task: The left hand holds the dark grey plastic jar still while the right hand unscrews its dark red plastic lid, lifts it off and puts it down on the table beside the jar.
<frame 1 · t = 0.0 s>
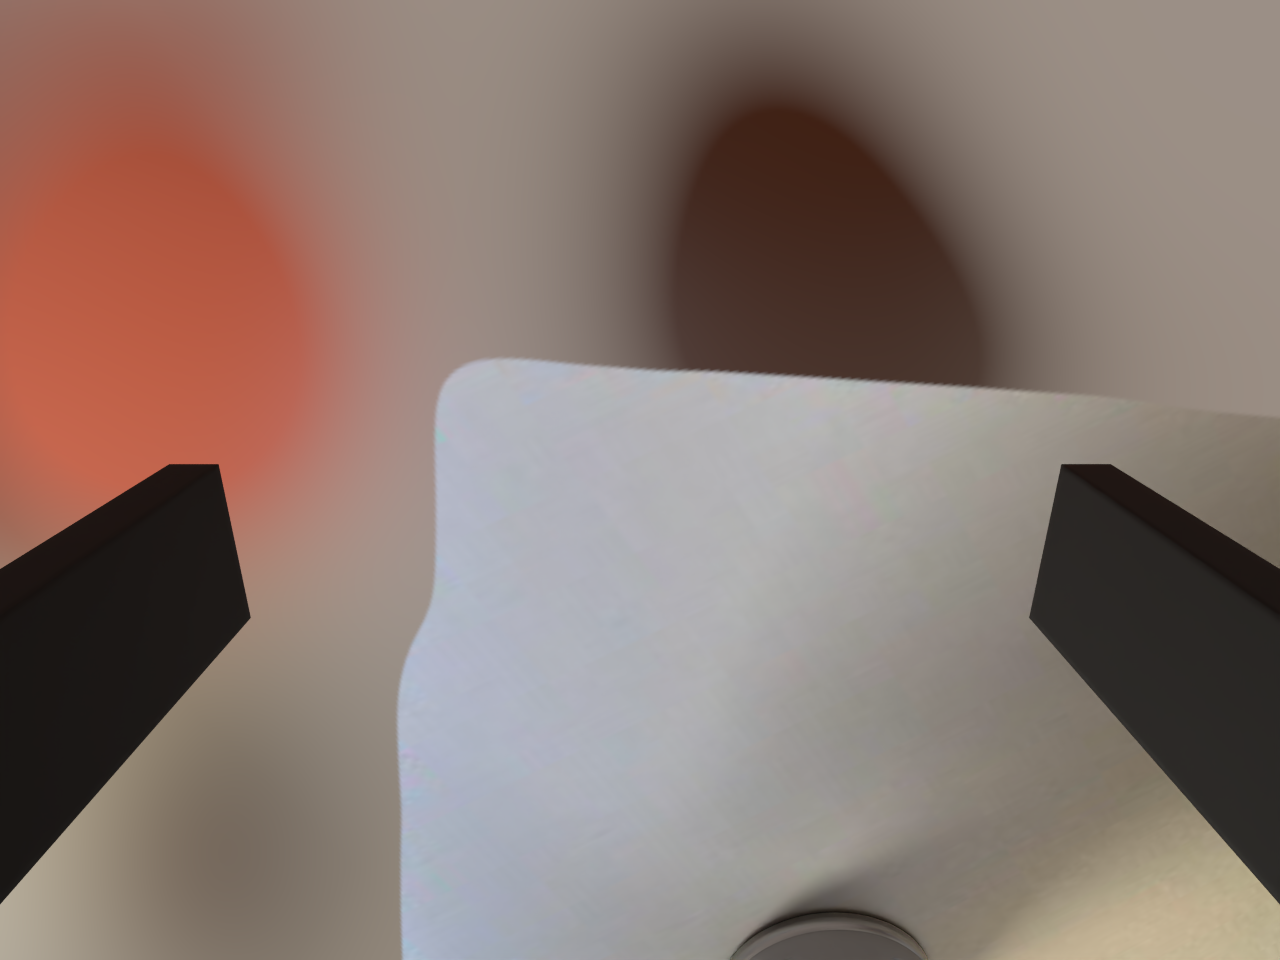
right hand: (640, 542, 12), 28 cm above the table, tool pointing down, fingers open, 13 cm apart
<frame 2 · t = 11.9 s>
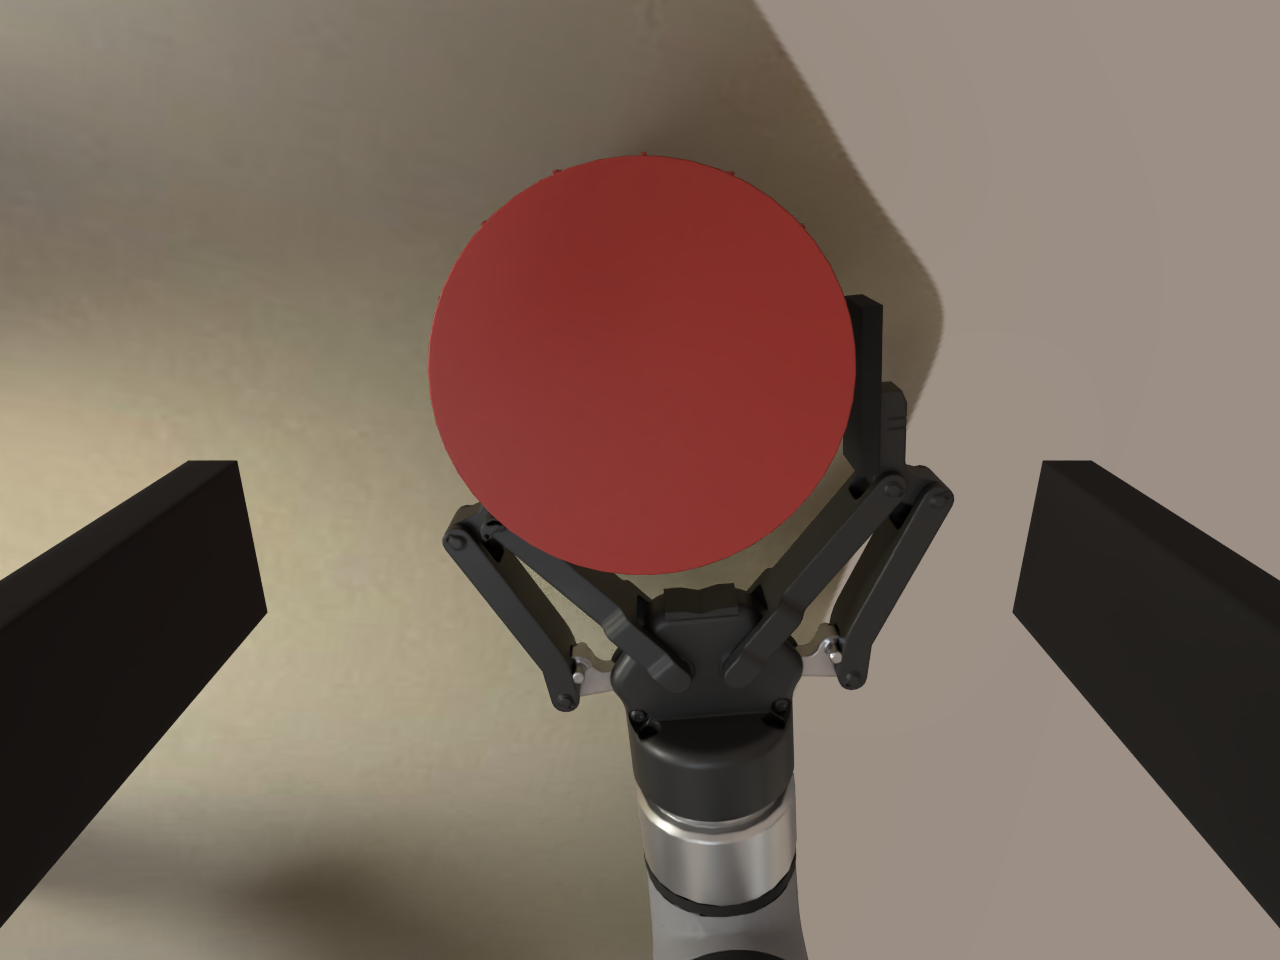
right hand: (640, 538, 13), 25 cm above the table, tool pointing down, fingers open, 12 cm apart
left hand: (678, 316, 29), fingers open, 13 cm apart
lid: (641, 382, 20), point 16 cm above the table, screwed on, not yet turned
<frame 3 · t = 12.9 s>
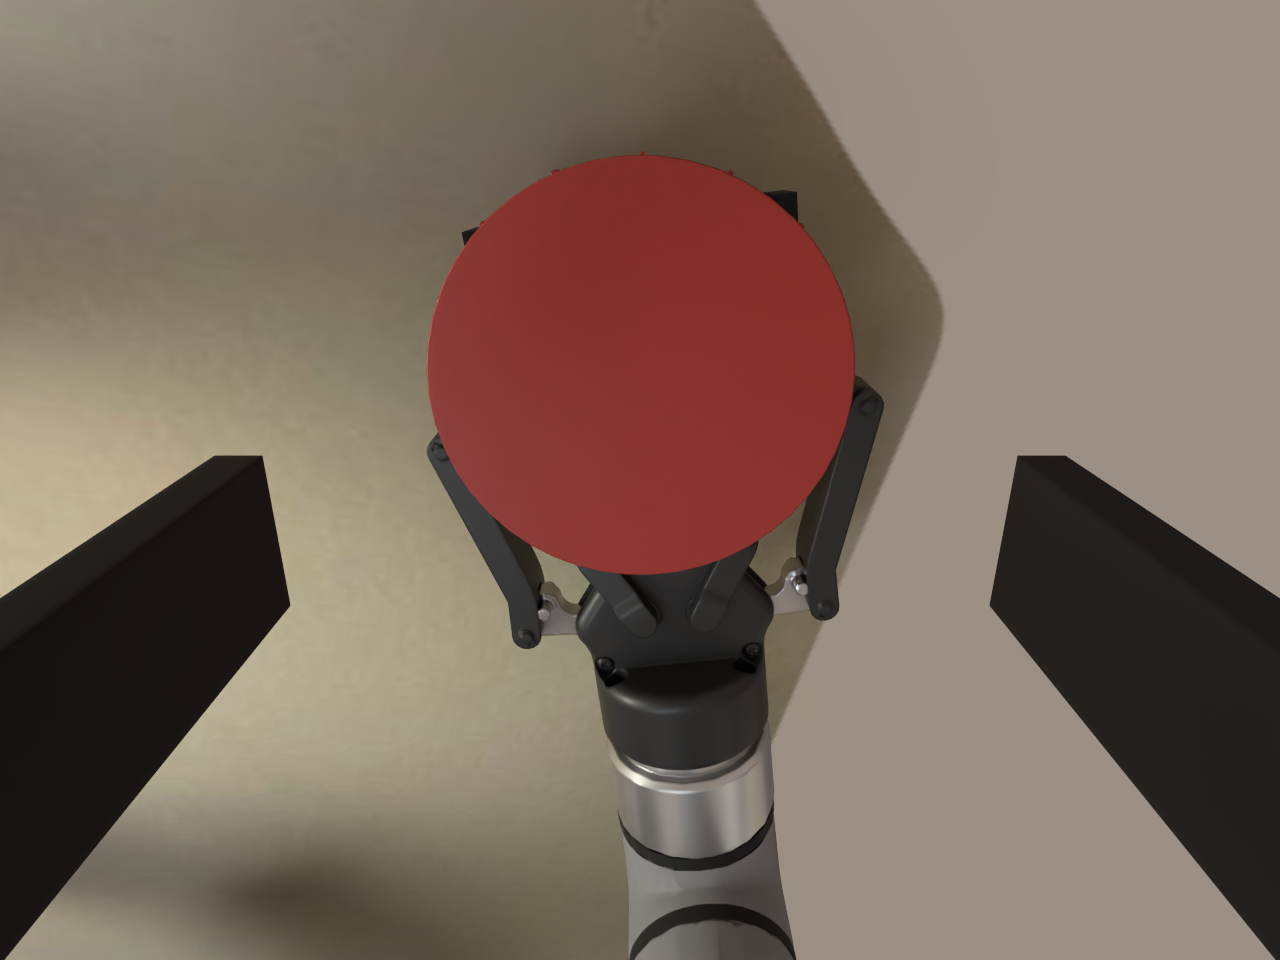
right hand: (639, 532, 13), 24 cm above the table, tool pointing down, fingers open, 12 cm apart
left hand: (628, 210, 28), fingers closed on jar, 10 cm apart
lid: (640, 382, 20), point 16 cm above the table, screwed on, not yet turned
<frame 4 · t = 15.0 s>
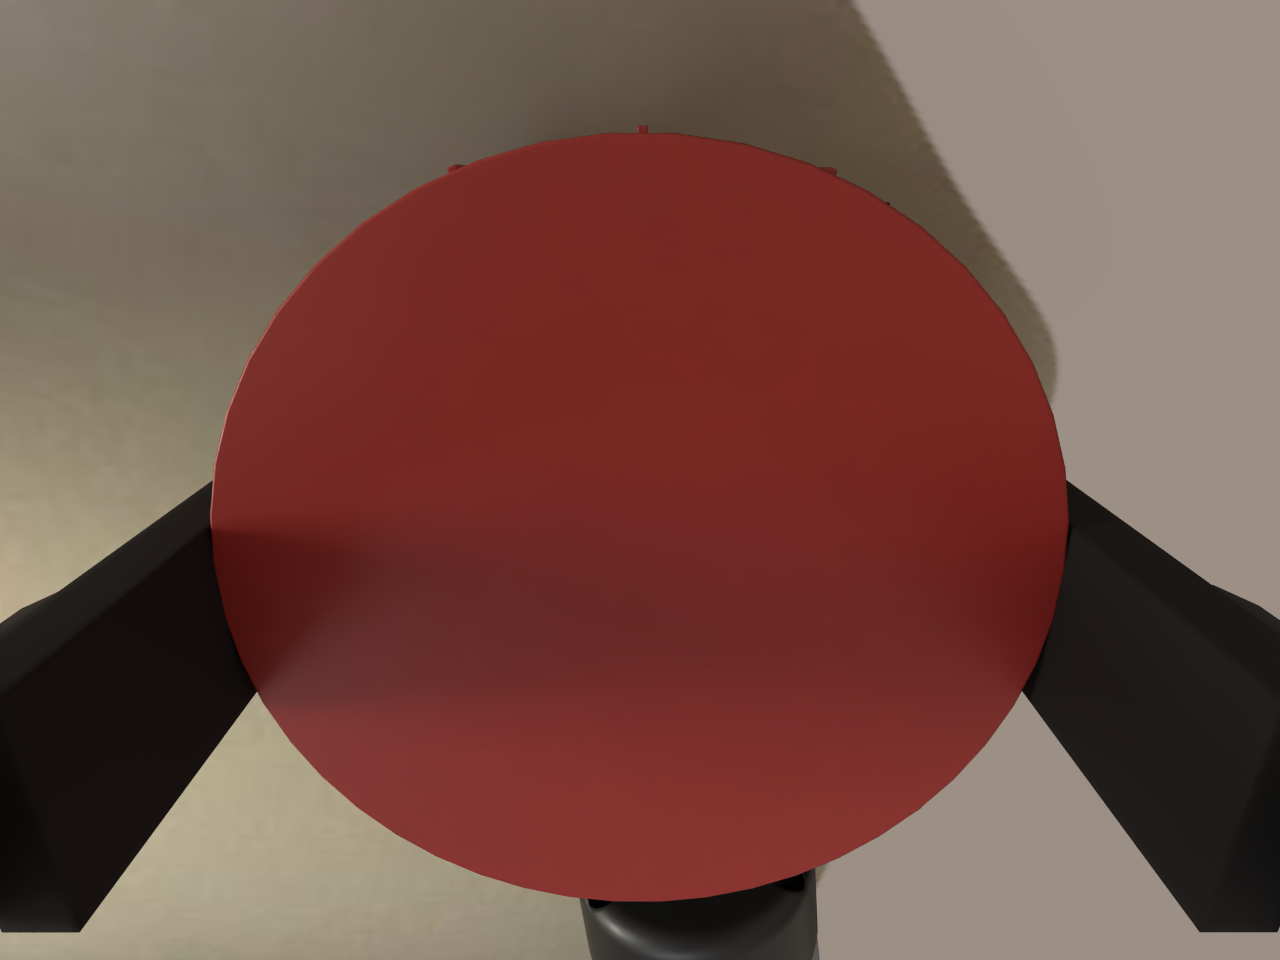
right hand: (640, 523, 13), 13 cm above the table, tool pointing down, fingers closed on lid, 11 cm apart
lid: (639, 580, 10), point 16 cm above the table, screwed on, not yet turned, touching right hand
when the right hand's fingers open (14 cm above the table, at t = 16.7 s): lid stays where it is, point 16 cm above the table.
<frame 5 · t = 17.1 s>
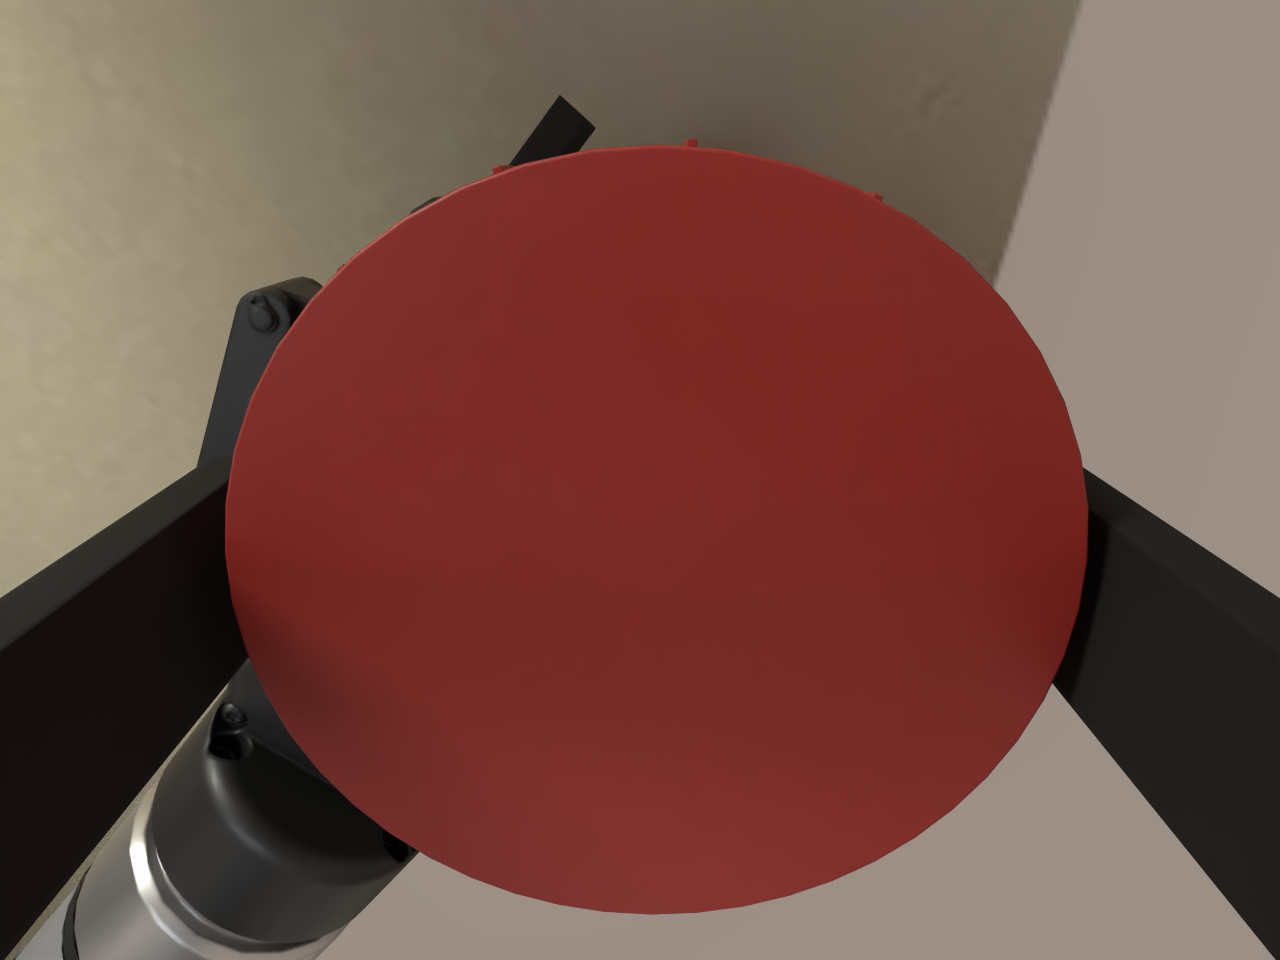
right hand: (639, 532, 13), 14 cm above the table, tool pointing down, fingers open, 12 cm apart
lid: (654, 593, 10), point 16 cm above the table, turned 88° so far, risen 0.2 cm, still on its thread
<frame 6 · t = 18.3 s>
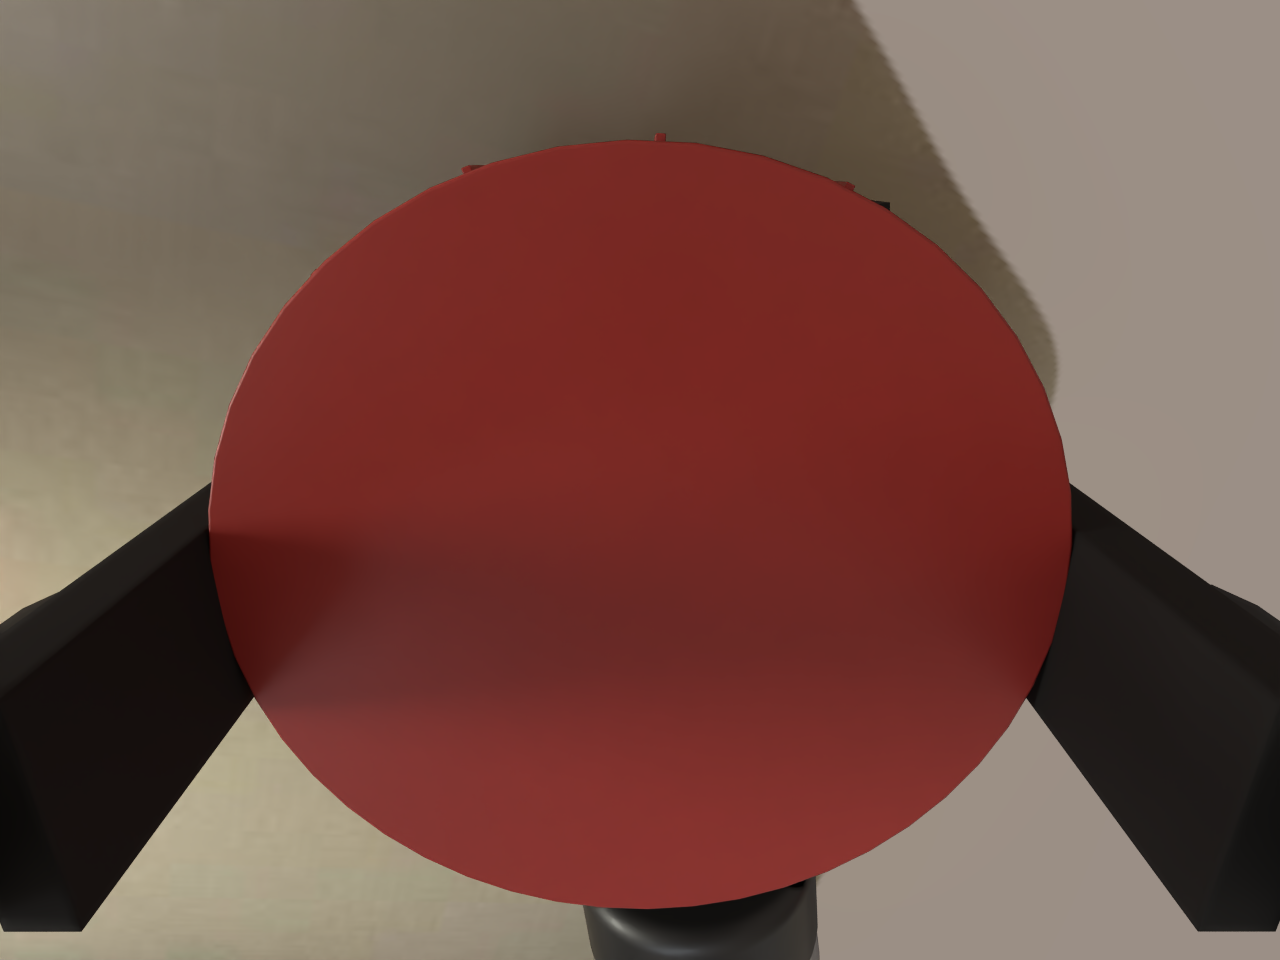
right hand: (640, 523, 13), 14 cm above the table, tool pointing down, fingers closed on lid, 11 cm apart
lid: (639, 589, 10), point 16 cm above the table, turned 88° so far, risen 0.2 cm, still on its thread, touching right hand
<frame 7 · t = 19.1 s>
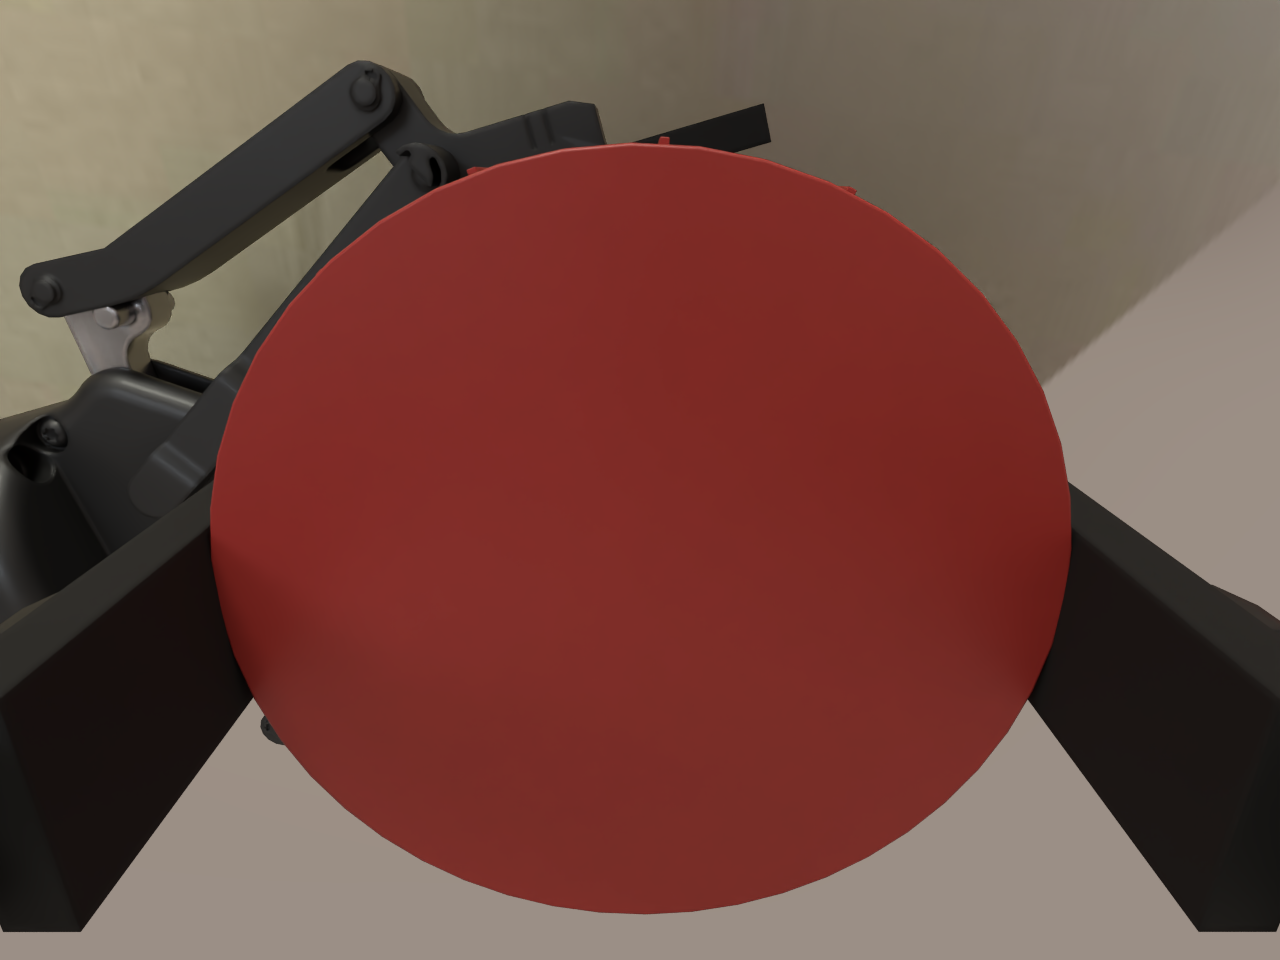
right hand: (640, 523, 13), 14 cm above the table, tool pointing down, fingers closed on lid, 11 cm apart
left hand: (803, 355, 19), fingers closed on jar, 10 cm apart
lid: (639, 590, 10), point 17 cm above the table, off its thread, touching right hand
when the right hand's fingers open (0 cm above the table, at t = 26.1 s): lid drops 2 cm, point 2 cm above the table.
when the left hand's fingers open (7 cm above the table, at t = 27.1 s): jar stays where it is, on the table.
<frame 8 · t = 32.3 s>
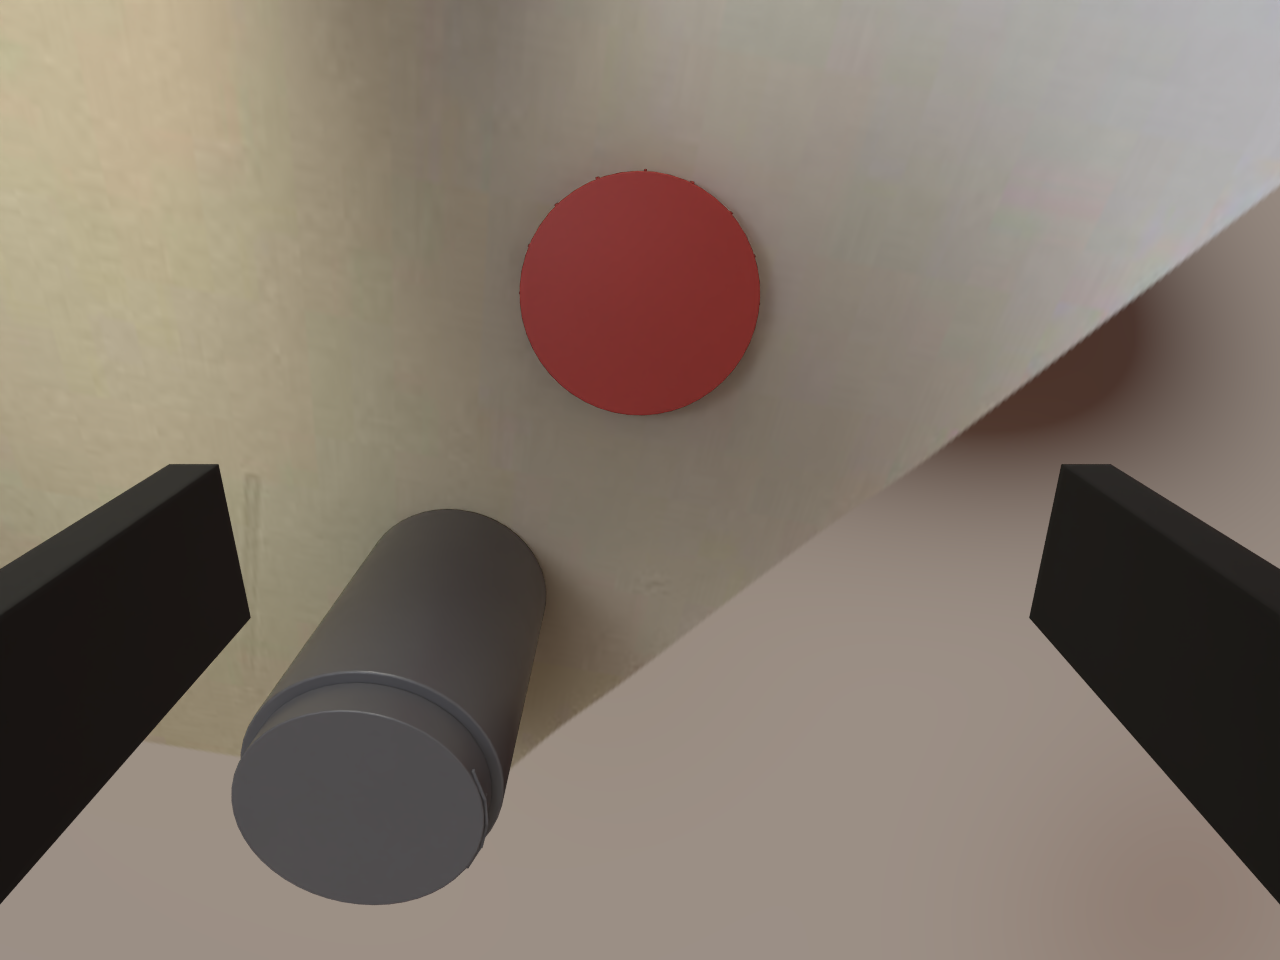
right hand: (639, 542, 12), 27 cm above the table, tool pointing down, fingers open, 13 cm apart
lid: (639, 298, 36), point 2 cm above the table, off its thread
jar: (456, 591, 43), on the table
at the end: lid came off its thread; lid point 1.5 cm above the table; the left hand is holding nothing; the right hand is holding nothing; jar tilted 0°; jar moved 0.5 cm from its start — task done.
